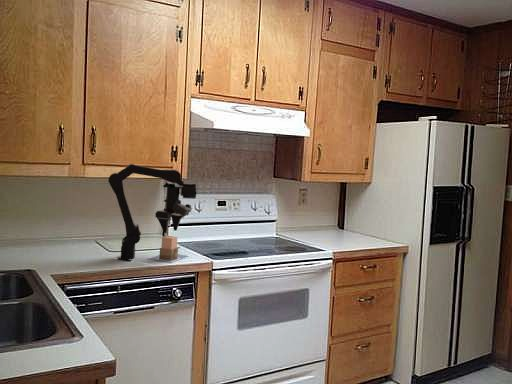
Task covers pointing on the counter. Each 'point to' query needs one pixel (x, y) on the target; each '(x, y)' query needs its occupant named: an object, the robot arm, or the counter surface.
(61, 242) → the counter surface
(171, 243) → the terracotta cube
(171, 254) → the walnut block
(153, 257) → the board
